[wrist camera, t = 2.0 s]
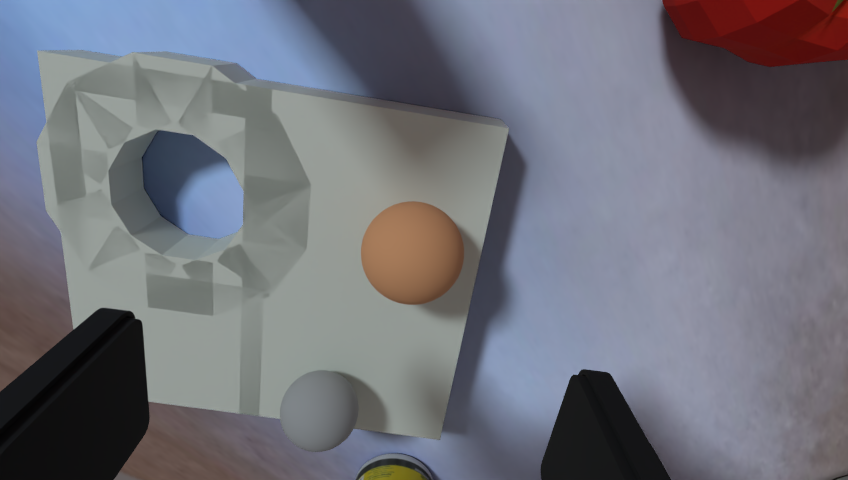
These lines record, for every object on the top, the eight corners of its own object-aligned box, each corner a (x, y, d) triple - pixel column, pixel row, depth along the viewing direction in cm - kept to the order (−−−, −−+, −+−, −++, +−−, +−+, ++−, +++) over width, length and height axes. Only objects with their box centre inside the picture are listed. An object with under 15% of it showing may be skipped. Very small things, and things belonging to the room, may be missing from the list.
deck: (503, 107, 21) (511, 115, 19) (438, 406, 27) (439, 439, 25) (68, 35, 20) (21, 34, 18) (102, 360, 26) (71, 391, 24)
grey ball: (366, 360, 23) (356, 412, 20) (359, 417, 24) (348, 474, 21) (293, 350, 23) (271, 400, 20) (289, 408, 24) (268, 464, 21)
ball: (469, 196, 20) (478, 231, 16) (451, 282, 22) (456, 331, 18) (373, 181, 20) (360, 213, 16) (362, 269, 21) (348, 316, 18)
